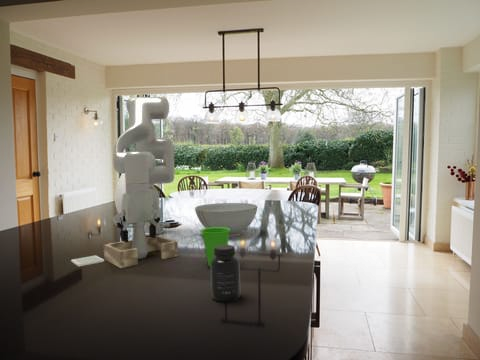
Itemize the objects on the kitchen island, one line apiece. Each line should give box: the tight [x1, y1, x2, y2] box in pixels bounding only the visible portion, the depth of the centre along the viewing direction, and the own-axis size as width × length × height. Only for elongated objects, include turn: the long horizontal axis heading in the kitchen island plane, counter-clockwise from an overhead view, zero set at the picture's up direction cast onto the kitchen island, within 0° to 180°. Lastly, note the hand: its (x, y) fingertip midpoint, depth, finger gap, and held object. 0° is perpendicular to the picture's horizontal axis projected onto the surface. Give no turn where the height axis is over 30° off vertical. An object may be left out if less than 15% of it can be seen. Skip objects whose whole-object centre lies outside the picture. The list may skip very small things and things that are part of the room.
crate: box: [103, 235, 179, 269], centre depth 126 cm, size 20×14×5 cm
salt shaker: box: [131, 222, 149, 260], centre depth 126 cm, size 6×6×13 cm
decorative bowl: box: [194, 202, 259, 238], centre depth 161 cm, size 27×27×12 cm
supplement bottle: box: [210, 244, 241, 303], centre depth 88 cm, size 7×7×12 cm
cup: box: [200, 227, 230, 268], centre depth 114 cm, size 9×9×11 cm
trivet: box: [70, 255, 105, 267], centre depth 122 cm, size 8×8×1 cm
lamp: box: [114, 173, 134, 228], centre depth 188 cm, size 16×16×35 cm
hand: (139, 239), depth 126 cm, fingers open, 9 cm apart
